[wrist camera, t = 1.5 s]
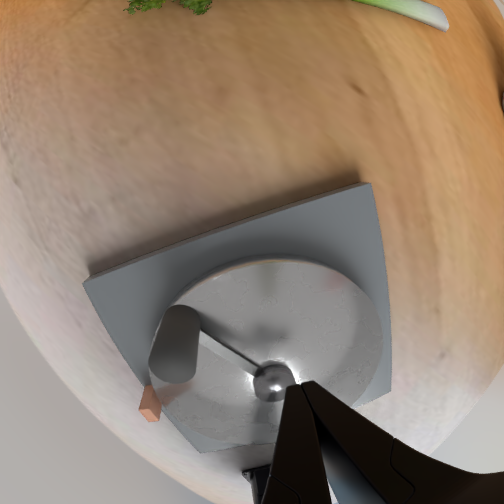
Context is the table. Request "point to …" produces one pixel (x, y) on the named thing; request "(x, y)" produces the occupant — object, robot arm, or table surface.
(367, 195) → the stand
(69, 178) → the table surface
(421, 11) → the leek
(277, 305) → the dial
